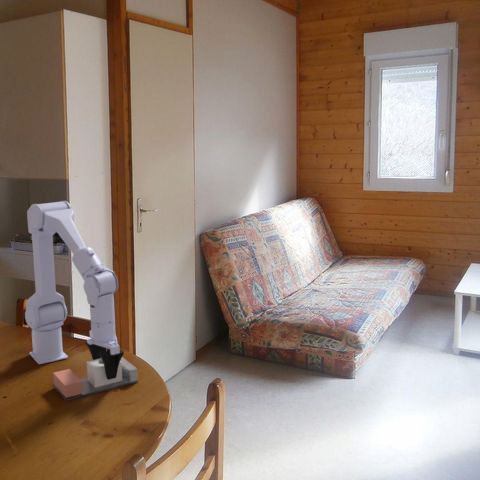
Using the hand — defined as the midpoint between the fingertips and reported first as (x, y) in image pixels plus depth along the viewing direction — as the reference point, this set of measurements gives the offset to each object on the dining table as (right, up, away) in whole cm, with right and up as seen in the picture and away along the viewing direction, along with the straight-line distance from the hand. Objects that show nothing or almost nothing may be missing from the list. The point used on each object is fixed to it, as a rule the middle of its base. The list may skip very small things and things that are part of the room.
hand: (105, 373), depth 145 cm
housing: (0, -2, 0) cm, 2 cm away
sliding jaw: (-8, -3, -5) cm, 10 cm away
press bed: (-2, -3, -1) cm, 3 cm away
